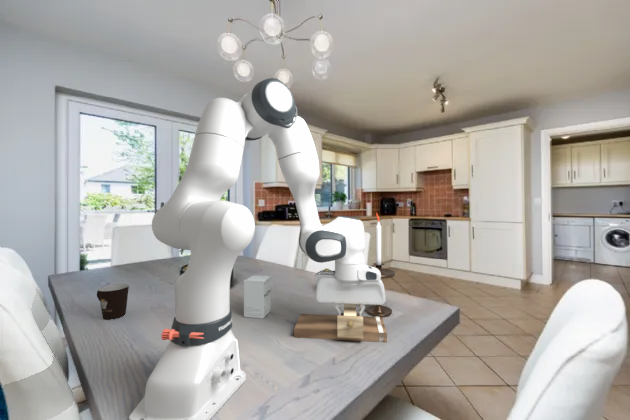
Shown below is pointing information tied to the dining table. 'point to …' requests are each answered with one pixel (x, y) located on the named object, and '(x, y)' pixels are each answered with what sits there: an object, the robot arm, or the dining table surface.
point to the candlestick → (385, 273)
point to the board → (327, 328)
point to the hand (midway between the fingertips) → (350, 317)
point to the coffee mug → (113, 300)
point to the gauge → (350, 323)
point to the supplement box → (257, 296)
